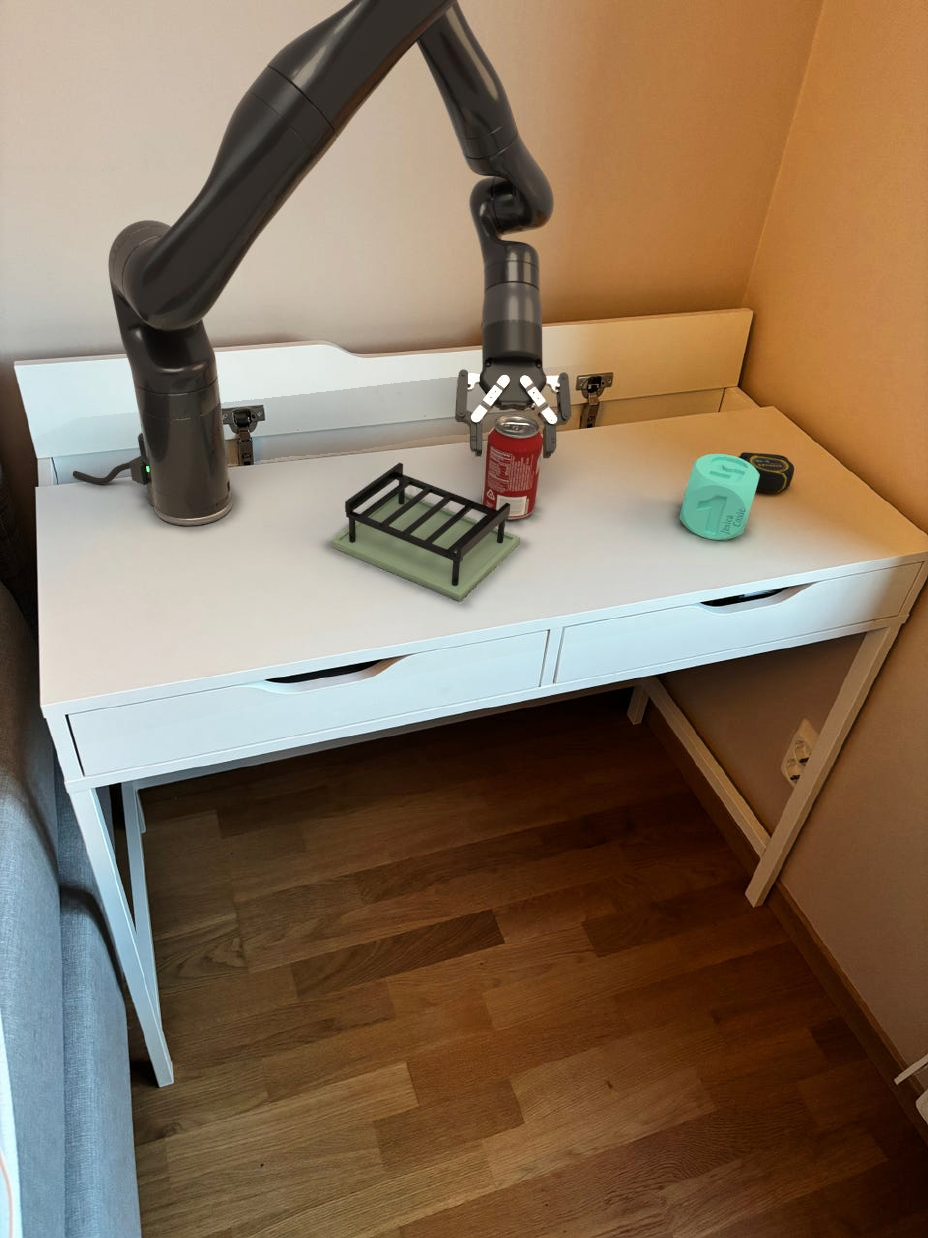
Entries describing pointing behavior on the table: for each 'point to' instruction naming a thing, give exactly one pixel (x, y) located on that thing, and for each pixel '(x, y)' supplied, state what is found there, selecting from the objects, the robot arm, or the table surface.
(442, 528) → the drying rack
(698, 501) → the decorative dice
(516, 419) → the soda can
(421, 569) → the drip tray
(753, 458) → the tape measure
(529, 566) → the table surface
